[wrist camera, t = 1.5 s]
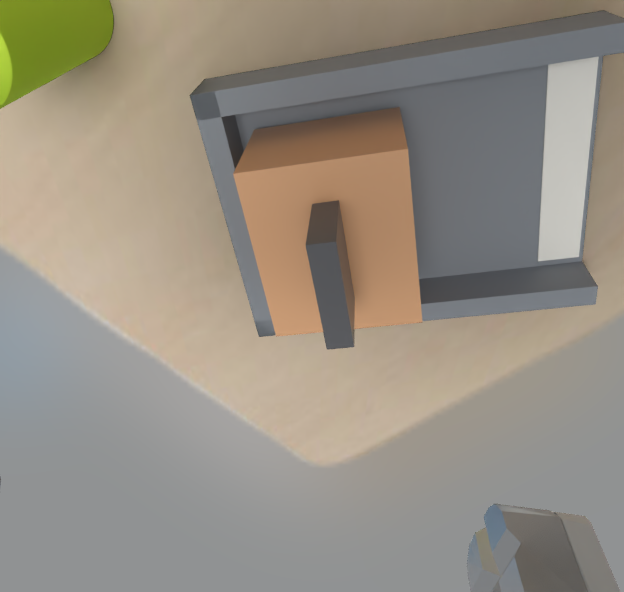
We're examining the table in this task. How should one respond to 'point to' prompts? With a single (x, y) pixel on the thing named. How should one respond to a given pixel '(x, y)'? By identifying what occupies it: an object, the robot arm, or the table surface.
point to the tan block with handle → (333, 224)
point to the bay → (451, 154)
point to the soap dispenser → (48, 41)
